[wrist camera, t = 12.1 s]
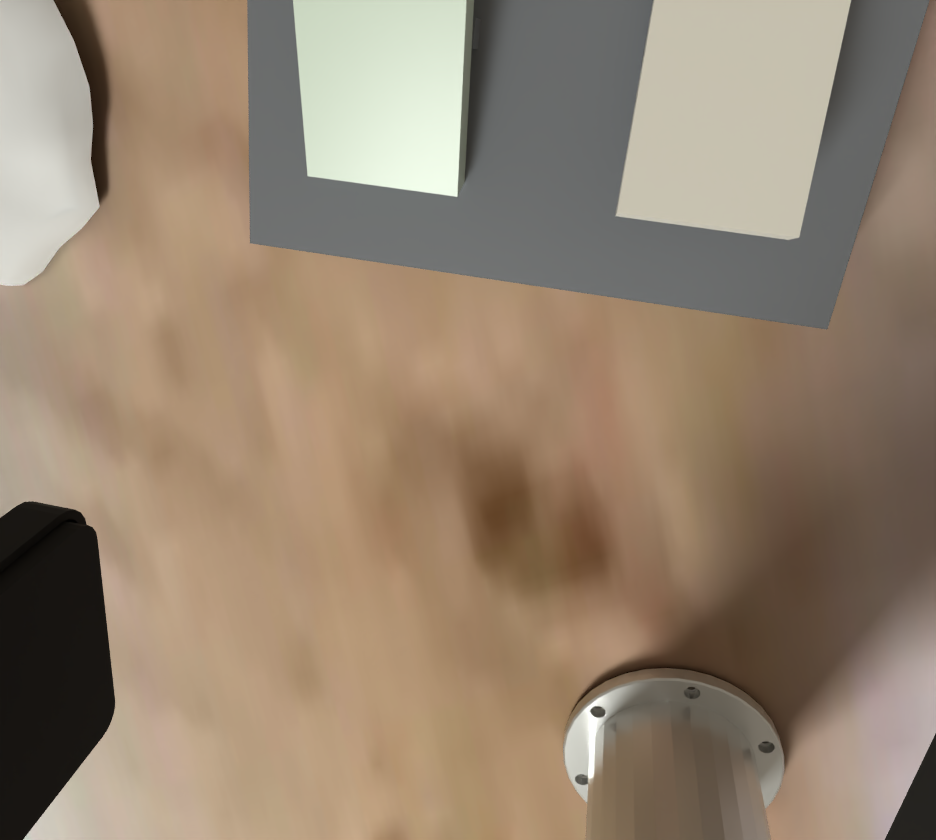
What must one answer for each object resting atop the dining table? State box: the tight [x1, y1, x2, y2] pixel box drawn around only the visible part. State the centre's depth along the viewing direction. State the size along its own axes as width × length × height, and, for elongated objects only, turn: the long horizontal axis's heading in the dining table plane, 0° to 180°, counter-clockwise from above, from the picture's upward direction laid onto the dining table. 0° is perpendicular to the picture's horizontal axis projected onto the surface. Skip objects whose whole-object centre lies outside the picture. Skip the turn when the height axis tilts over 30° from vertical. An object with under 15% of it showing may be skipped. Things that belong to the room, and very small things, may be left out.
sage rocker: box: [293, 0, 474, 197], centre depth 28 cm, size 11×6×2 cm, turn 175°
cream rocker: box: [615, 0, 851, 240], centre depth 26 cm, size 11×6×2 cm, turn 174°
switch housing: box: [247, 0, 929, 329], centre depth 31 cm, size 18×24×6 cm
